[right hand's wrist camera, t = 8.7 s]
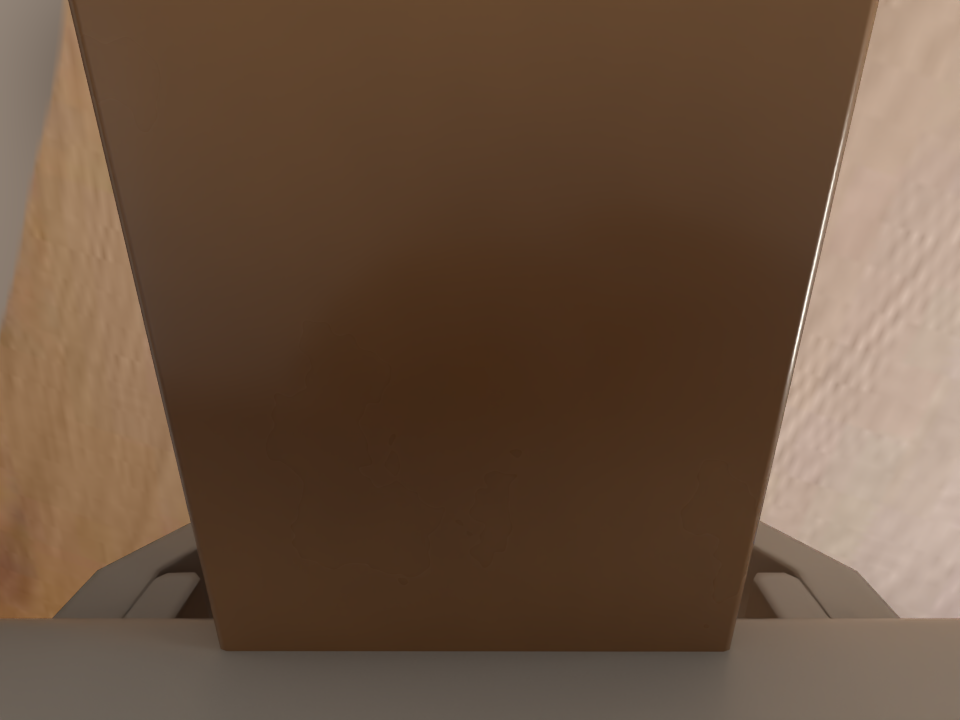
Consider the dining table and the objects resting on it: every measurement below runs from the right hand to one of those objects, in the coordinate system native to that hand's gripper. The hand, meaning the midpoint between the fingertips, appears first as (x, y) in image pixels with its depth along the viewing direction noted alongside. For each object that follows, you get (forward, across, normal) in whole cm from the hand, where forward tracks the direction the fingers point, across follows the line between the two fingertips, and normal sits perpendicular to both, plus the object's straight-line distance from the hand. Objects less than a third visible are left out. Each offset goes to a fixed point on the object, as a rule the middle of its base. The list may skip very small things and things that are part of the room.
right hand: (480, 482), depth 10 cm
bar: (+3, 0, +10) cm, 10 cm away
